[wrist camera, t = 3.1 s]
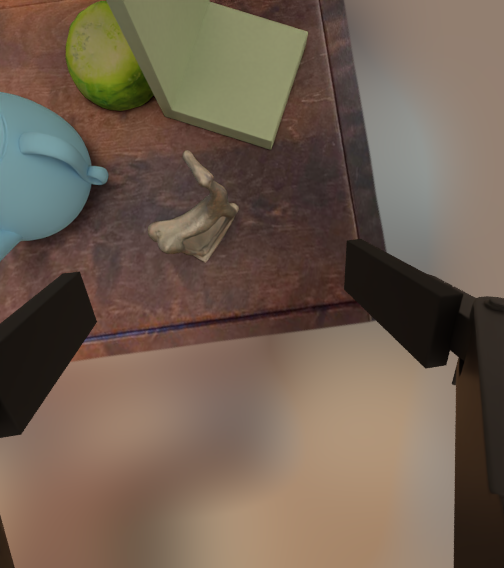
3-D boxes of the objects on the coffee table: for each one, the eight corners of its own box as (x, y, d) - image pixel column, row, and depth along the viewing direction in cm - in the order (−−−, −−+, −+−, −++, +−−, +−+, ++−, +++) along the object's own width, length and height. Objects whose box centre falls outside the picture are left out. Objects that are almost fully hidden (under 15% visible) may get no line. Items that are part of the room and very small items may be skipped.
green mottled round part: (130, 9, 37) (110, -34, 32) (184, 72, 37) (173, 38, 32) (60, 67, 37) (30, 32, 32) (115, 131, 37) (92, 106, 32)
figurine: (161, 272, 36) (94, 255, 21) (150, 221, 36) (76, 168, 21) (248, 252, 36) (244, 222, 21) (237, 201, 36) (225, 135, 21)
